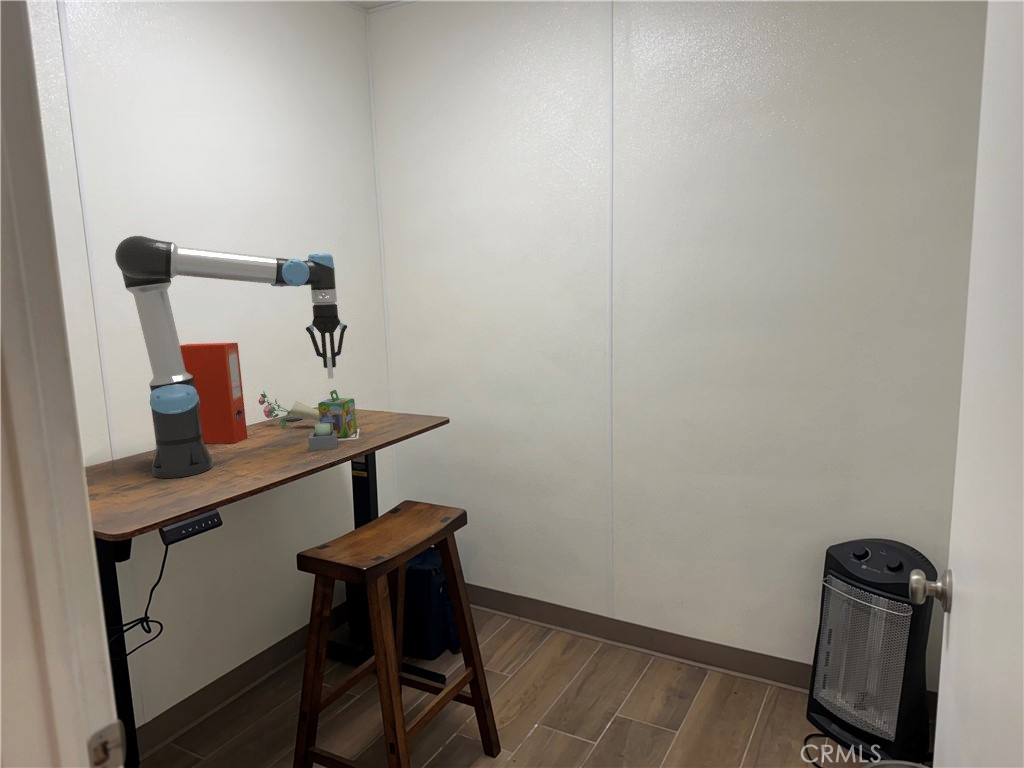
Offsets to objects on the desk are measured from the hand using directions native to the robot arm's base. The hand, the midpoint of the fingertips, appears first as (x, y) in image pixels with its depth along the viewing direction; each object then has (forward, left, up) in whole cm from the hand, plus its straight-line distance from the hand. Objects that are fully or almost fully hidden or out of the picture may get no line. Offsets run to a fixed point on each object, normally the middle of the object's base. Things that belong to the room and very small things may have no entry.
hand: (330, 377), depth 214 cm
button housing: (-3, -10, -20) cm, 22 cm away
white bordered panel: (+1, +3, -20) cm, 20 cm away
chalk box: (+1, +3, -20) cm, 20 cm away
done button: (-3, -10, -17) cm, 20 cm away
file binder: (-39, +11, -20) cm, 45 cm away
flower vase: (-13, +22, -20) cm, 33 cm away
